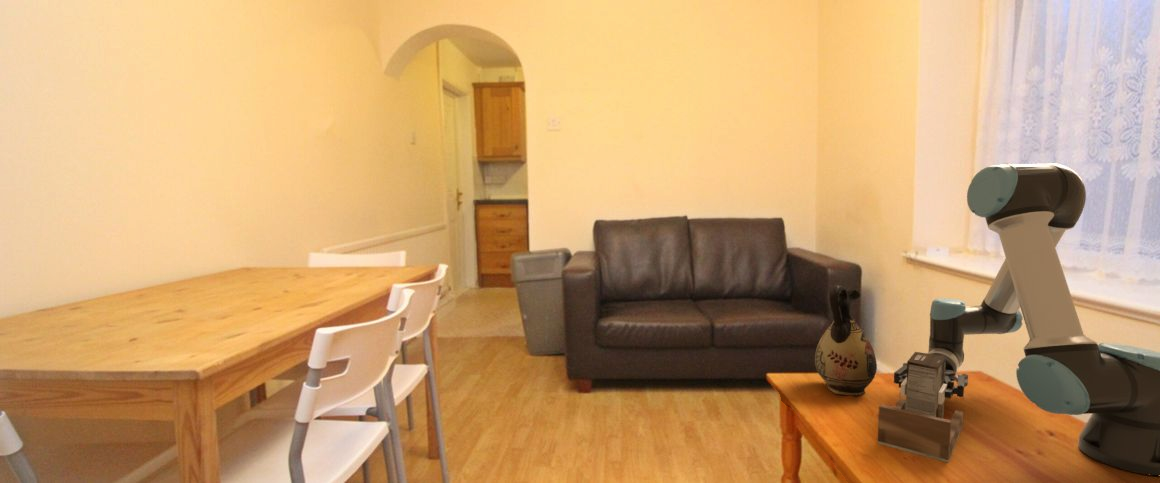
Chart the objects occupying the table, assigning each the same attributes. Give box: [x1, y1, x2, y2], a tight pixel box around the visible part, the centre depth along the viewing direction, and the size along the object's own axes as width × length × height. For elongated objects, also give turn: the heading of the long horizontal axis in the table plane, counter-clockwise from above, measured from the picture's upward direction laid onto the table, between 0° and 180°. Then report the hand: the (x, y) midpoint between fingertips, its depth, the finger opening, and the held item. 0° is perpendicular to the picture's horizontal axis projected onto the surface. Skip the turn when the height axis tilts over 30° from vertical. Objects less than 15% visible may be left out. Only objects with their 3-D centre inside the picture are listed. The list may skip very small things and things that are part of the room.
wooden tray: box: [877, 398, 964, 463], centre depth 121 cm, size 22×13×8 cm, turn 138°
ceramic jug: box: [814, 284, 878, 397], centre depth 146 cm, size 17×15×30 cm
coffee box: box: [905, 351, 946, 419], centre depth 122 cm, size 9×6×16 cm
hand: (921, 394), depth 118 cm, fingers closed on coffee box, 6 cm apart
